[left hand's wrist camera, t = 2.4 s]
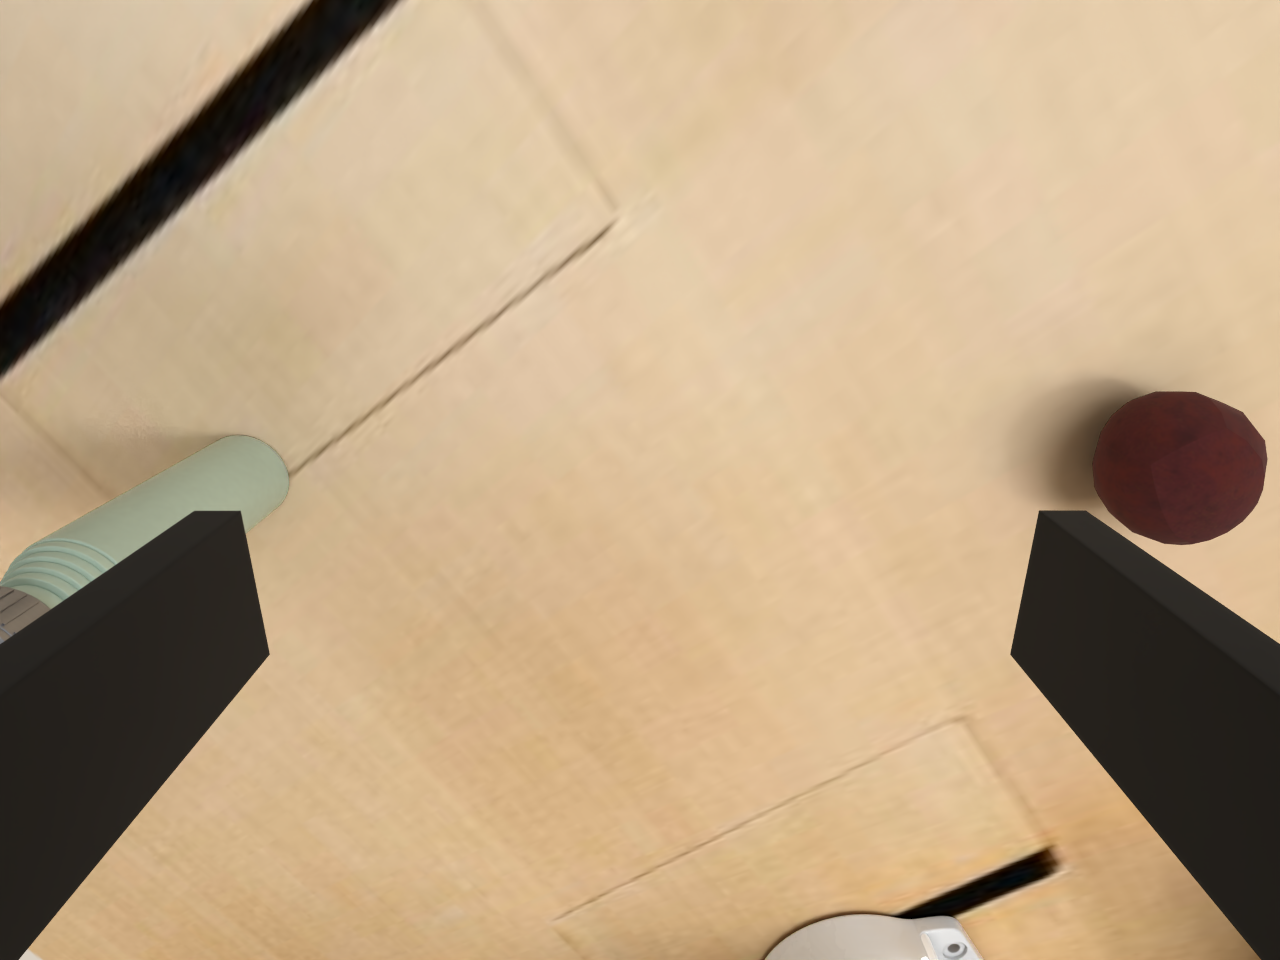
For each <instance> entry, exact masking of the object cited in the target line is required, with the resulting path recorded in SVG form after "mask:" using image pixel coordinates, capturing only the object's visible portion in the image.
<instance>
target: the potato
mask: <svg viewBox="0 0 1280 960" xmlns="http://www.w3.org/2000/svg"><path fill="white" fill-rule="evenodd" d="M1266 465H1267V453H1266V446H1265V440H1264V439H1263V438H1262V436H1261V435H1260V434H1259V433H1258V431H1257V430H1256V429H1255V427H1254V426H1253V425H1252V424H1251V422H1250V421H1249V420H1248V418H1247V417H1246V416H1245V415H1244V413H1243V412H1241V411H1239V410H1237V409H1235V408H1233V407H1230V406H1228V405H1226V404H1224V403H1222V402H1219V401H1217V400H1214V399H1212V398H1209V397H1207V396H1204V395H1202V394H1199V393H1196V392H1153V393H1151V394H1148V395H1145V396H1142V397H1139V398H1136V399H1134V400H1131V401H1129V402H1128V403H1126V404H1125V405H1124V406H1123V407H1121V408H1120V409H1119V410H1118V411H1117V412H1115V413H1114V414H1113V415H1112V416H1111V417H1110V419H1109V420H1108V422H1107V424H1106V425H1105V427H1104V428H1103V430H1102V431H1101V434H1100V437H1099V441H1098V444H1097V448H1096V451H1095V455H1094V459H1093V475H1094V487H1095V489H1096V491H1097V493H1098V495H1099V497H1100V499H1101V500H1102V502H1103V503H1104V505H1105V506H1106V508H1107V509H1108V511H1109V512H1110V513H1111V514H1112V515H1113V516H1114V517H1115V518H1116V519H1118V520H1119V521H1120V522H1121V523H1122V524H1123V525H1125V526H1126V527H1127V528H1128V529H1129V530H1131V531H1132V532H1134V533H1136V534H1139V535H1142V536H1144V537H1147V538H1150V539H1153V540H1156V541H1158V542H1161V543H1164V544H1176V545H1187V544H1195V543H1199V542H1204V541H1208V540H1211V539H1213V538H1216V537H1218V536H1220V535H1222V534H1225V533H1227V532H1229V531H1230V530H1231V529H1233V528H1234V527H1236V526H1237V525H1238V524H1240V523H1241V522H1243V520H1244V519H1245V518H1246V517H1247V516H1248V515H1249V514H1250V513H1251V512H1252V510H1253V509H1254V507H1255V506H1256V505H1257V503H1258V501H1259V498H1260V496H1261V493H1262V491H1263V486H1264V478H1265V472H1266Z"/></svg>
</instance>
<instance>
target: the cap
mask: <svg viewBox="0 0 1280 960" xmlns="http://www.w3.org/2000/svg"><path fill="white" fill-rule="evenodd" d="M49 610H51V609H50V608H49V607H48V606H47V605H46V604H44V603H43V602H41V601H40V600H39V599H37V598H35V597H33V596H32V595H30V594H27V593H25V592H23V591H20V590H17V589H13V588H9V587H3V586H0V644H1V643H3V642H4V641H6V640H7V639H8V638H10V637H11V636H13V635H14V634H16V633H17V632H19V631H20V630H22V629H23V628H24V627H26V626H27V625H29V624H30V623H32V622H33V621H35V620H36V619H38V618H39V617H40V616H42V615H43V614H45V613H46V612H48V611H49Z"/></svg>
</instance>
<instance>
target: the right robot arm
mask: <svg viewBox="0 0 1280 960" xmlns="http://www.w3.org/2000/svg"><path fill="white" fill-rule="evenodd" d="M765 960H984V959H983V957H982V956H981V954H980V953H979V951H978V950H977V948H976V947H975V945H974V944H973V942H972V940H971V939H970V937H969V936H968V934H967V933H966V931H965V930H964V928H963V927H962V925H961V924H960V922H959V921H958V920H957V919H955V918H953V917H949V916H934V917H926V918H918V919H901V918H895V917H889V916H883V915H873V914H855V915H845V916H839V917H834V918H829V919H826V920H822V921H819V922H816V923H813V924H811V925H808V926H806V927H804V928H802V929H800V930H798V931H796V932H795V933H793V934H791V935H790V936H788V937H787V938H785V939H784V940H783V941H781V942H780V943H779V944H778V945H777V946H776V947H775V948H774V949H773V950H772V951H771V952H770V953H769V954H768V956H767V957H766V958H765Z"/></svg>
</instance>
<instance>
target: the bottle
mask: <svg viewBox="0 0 1280 960" xmlns="http://www.w3.org/2000/svg"><path fill="white" fill-rule="evenodd" d="M288 488H289V476H288V472H287V468H286V466H285V464H284V462H283V460H282V459H281V457H280V456H279V455H278V454H277V452H276V451H275V450H274V449H272V448H271V447H270V446H269V445H267V444H266V443H264V442H262V441H260V440H258V439H256V438H253V437H249V436H243V435H233V436H228V437H224V438H222V439H220V440H218V441H216V442H214V443H212V444H211V445H209V446H207V447H205V448H203V449H202V450H200V451H198V452H196V453H195V454H193V455H191V456H189V457H187V458H186V459H184V460H182V461H180V462H178V463H177V464H175V465H173V466H171V467H170V468H168V469H166V470H164V471H162V472H161V473H159V474H157V475H155V476H153V477H152V478H150V479H148V480H146V481H145V482H143V483H141V484H139V485H137V486H136V487H134V488H132V489H130V490H128V491H127V492H125V493H123V494H121V495H120V496H118V497H116V498H114V499H112V500H111V501H109V502H107V503H105V504H103V505H102V506H100V507H98V508H96V509H95V510H93V511H91V512H89V513H87V514H86V515H84V516H82V517H80V518H78V519H77V520H75V521H73V522H71V523H70V524H68V525H66V526H64V527H62V528H61V529H59V530H57V531H55V532H53V533H52V534H50V535H48V536H46V537H44V538H43V539H41V540H39V541H37V542H36V543H34V544H32V545H30V546H29V547H28V548H26V549H25V550H24V551H23V552H22V553H21V554H20V555H19V556H18V557H17V558H15V560H14V561H13V562H12V563H11V565H10V567H9V569H8V571H7V572H6V573H5V575H4V577H3V579H2V580H1V582H0V586H3V587H9V588H13V589H17V590H20V591H23V592H25V593H27V594H30V595H32V596H33V597H35V598H37V599H39V600H40V601H41V602H43V603H44V604H46V605H47V606H48V607H49V608H50V609H52V608H54V607H55V606H56V605H58V604H59V603H61V602H62V601H64V600H65V599H67V598H68V597H69V596H71V595H72V594H74V593H75V592H77V591H78V590H80V589H81V588H83V587H84V586H85V585H87V584H88V583H90V582H91V581H93V580H94V579H96V578H97V577H99V576H100V575H101V574H103V573H104V572H106V571H107V570H109V569H110V568H112V567H113V566H115V565H116V564H117V563H119V562H120V561H122V560H123V559H125V558H126V557H128V556H129V555H131V554H132V553H133V552H135V551H136V550H138V549H139V548H141V547H142V546H144V545H145V544H147V543H148V542H149V541H151V540H152V539H154V538H155V537H157V536H158V535H160V534H161V533H163V532H164V531H165V530H167V529H168V528H170V527H171V526H173V525H174V524H176V523H177V522H179V521H180V520H181V519H183V518H184V517H186V516H187V515H189V514H190V513H192V512H193V511H241V514H242V519H243V524H244V529H245V534H246V533H247V532H248V531H250V530H251V529H252V528H253V527H254V526H256V525H257V524H258V523H259V522H260V521H262V520H263V519H264V518H265V517H266V516H268V515H269V514H270V513H271V512H272V511H274V510H275V509H276V508H277V507H278V506H279V505H280V504H281V503H282V502H283V501H284V499H285V497H286V495H287V492H288Z"/></svg>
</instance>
